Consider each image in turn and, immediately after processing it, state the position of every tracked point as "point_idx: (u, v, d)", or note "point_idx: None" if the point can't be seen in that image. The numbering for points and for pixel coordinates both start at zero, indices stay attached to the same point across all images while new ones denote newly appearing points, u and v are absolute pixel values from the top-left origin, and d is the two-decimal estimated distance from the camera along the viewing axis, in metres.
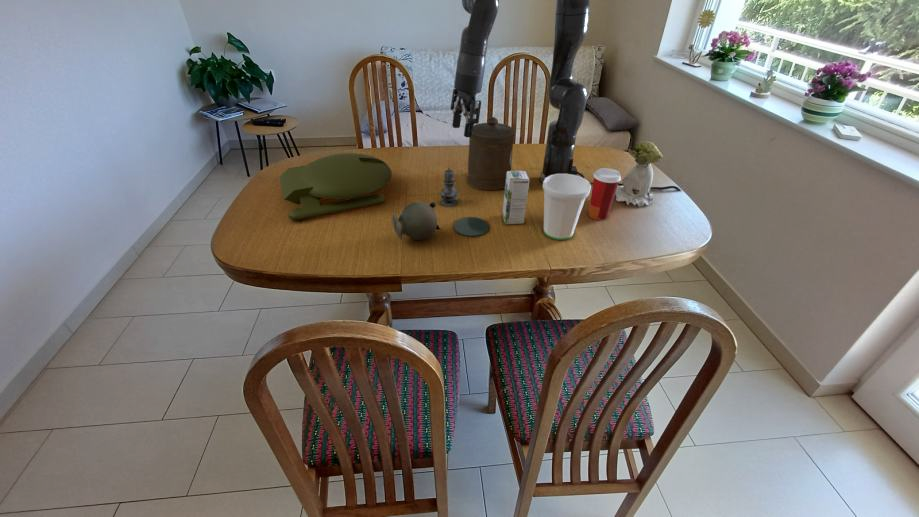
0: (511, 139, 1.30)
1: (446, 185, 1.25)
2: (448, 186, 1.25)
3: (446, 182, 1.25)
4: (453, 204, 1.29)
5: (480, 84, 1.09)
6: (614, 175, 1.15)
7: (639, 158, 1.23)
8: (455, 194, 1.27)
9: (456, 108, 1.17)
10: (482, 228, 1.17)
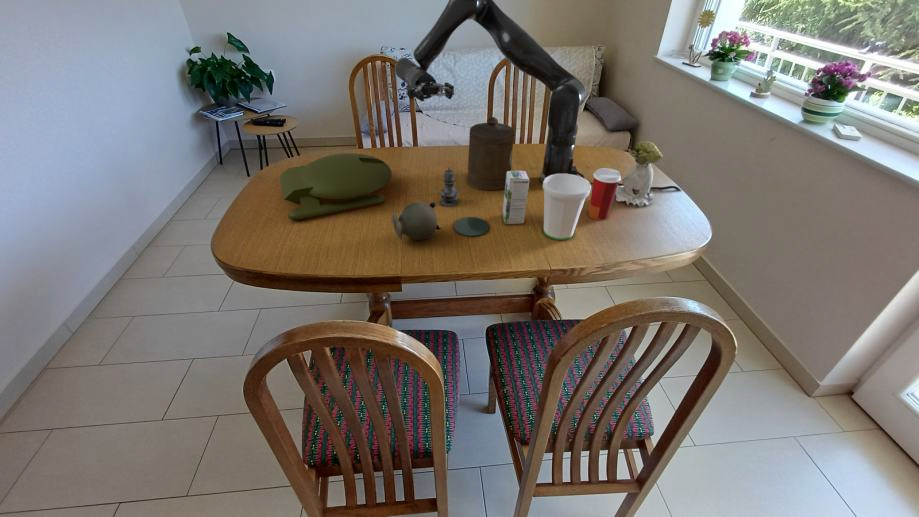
0: (511, 139, 1.30)
1: (446, 185, 1.25)
2: (448, 186, 1.25)
3: (446, 182, 1.25)
4: (453, 204, 1.29)
5: (414, 78, 1.29)
6: (614, 175, 1.15)
7: (639, 158, 1.23)
8: (455, 194, 1.27)
9: (440, 95, 1.27)
10: (482, 228, 1.17)
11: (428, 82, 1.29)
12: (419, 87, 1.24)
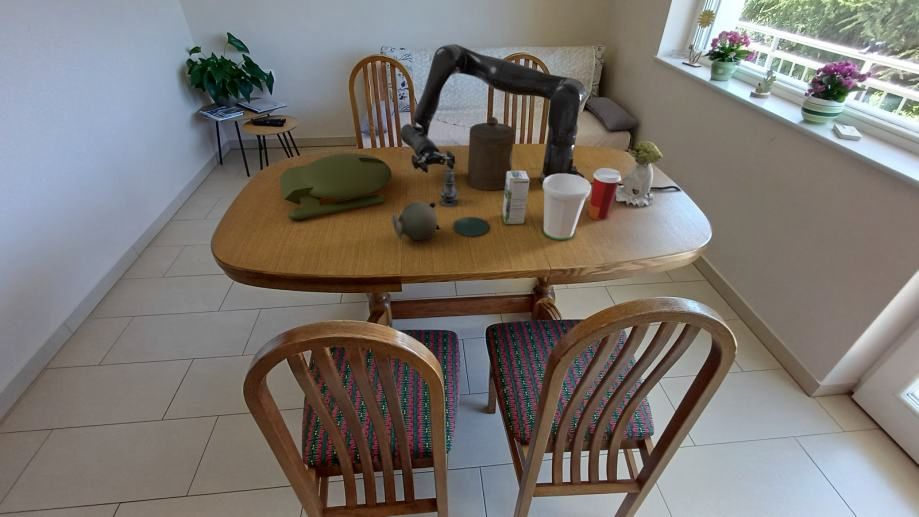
0: (511, 139, 1.30)
1: (446, 185, 1.25)
2: (448, 186, 1.25)
3: (446, 182, 1.25)
4: (453, 204, 1.29)
5: (419, 147, 1.42)
6: (614, 175, 1.15)
7: (639, 158, 1.23)
8: (455, 194, 1.27)
9: (442, 163, 1.39)
10: (482, 228, 1.17)
11: (431, 151, 1.41)
12: (423, 158, 1.36)
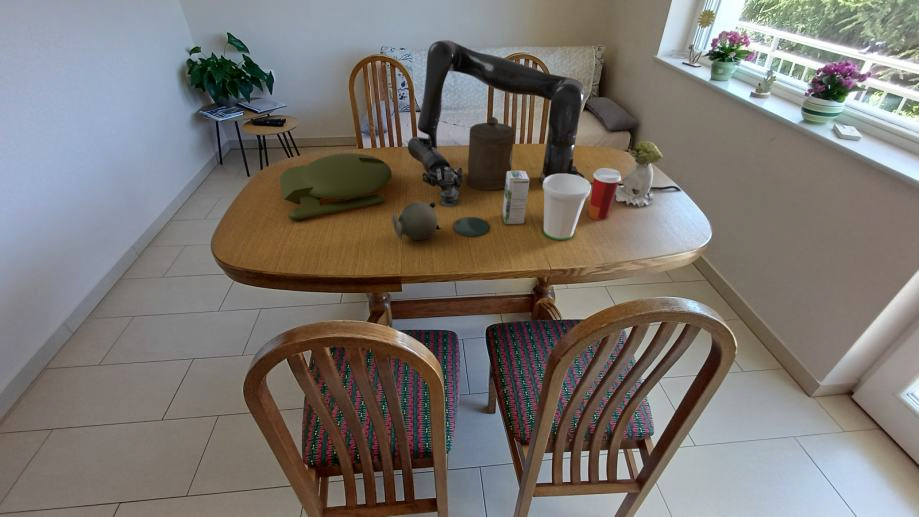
0: (511, 139, 1.30)
1: None
2: (448, 186, 1.25)
3: (446, 182, 1.25)
4: (453, 204, 1.29)
5: (428, 162, 1.33)
6: (614, 175, 1.15)
7: (639, 158, 1.23)
8: (455, 194, 1.27)
9: None
10: (482, 228, 1.17)
11: (442, 166, 1.33)
12: (439, 175, 1.27)
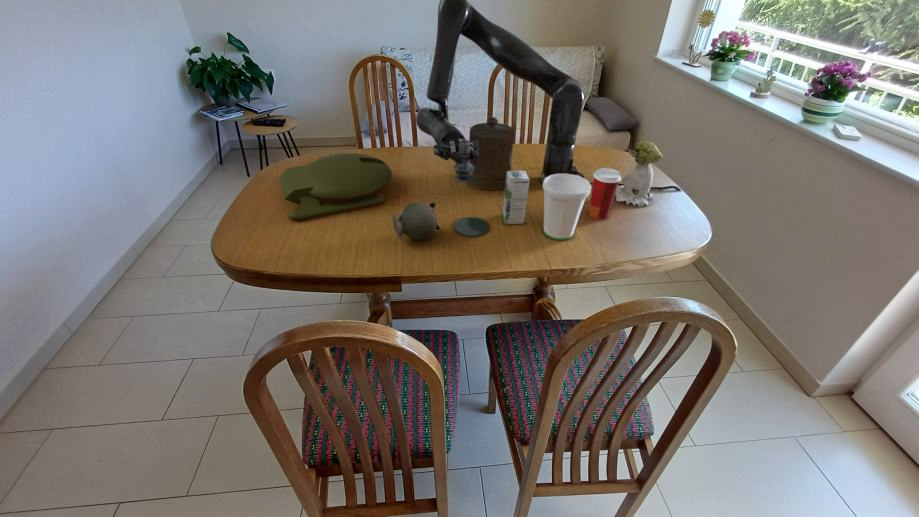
0: (511, 139, 1.30)
1: None
2: (463, 159, 1.10)
3: (461, 155, 1.09)
4: (468, 180, 1.13)
5: (440, 134, 1.18)
6: (614, 175, 1.15)
7: (639, 158, 1.23)
8: (471, 169, 1.11)
9: None
10: (482, 228, 1.17)
11: (455, 138, 1.17)
12: (452, 147, 1.12)
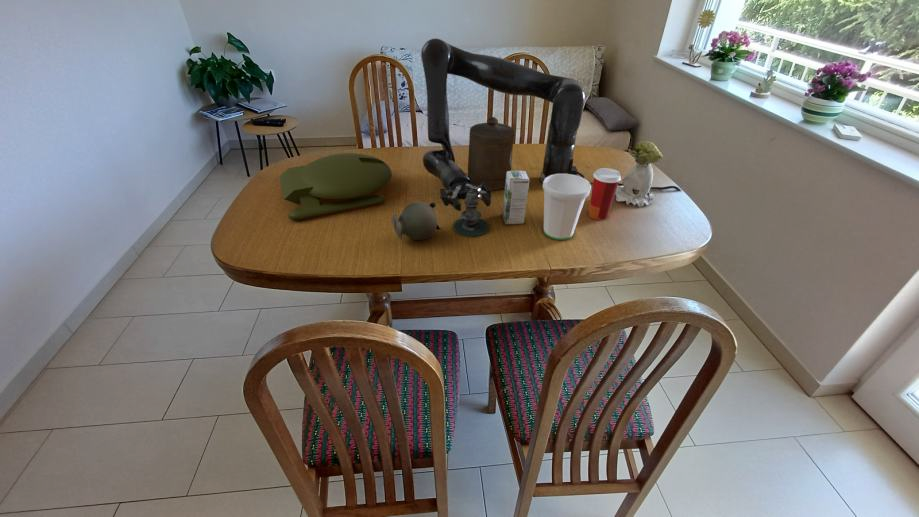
0: (511, 139, 1.30)
1: (468, 207, 1.14)
2: (470, 209, 1.14)
3: (469, 204, 1.13)
4: (475, 228, 1.17)
5: (448, 178, 1.21)
6: (614, 175, 1.15)
7: (639, 158, 1.23)
8: (478, 217, 1.15)
9: None
10: (482, 228, 1.17)
11: (463, 183, 1.20)
12: (455, 193, 1.15)
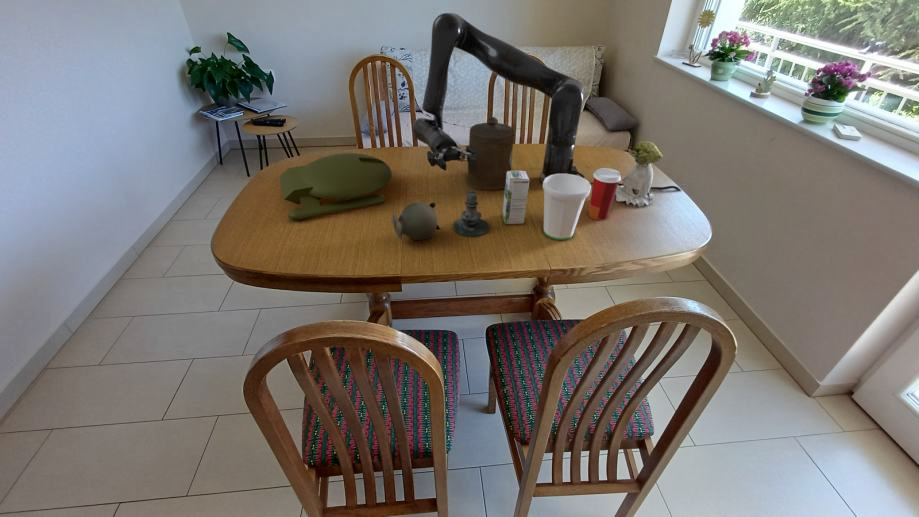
0: (511, 139, 1.30)
1: (468, 207, 1.14)
2: (470, 209, 1.14)
3: (469, 204, 1.13)
4: (475, 228, 1.17)
5: (435, 142, 1.27)
6: (614, 175, 1.15)
7: (639, 158, 1.23)
8: (478, 217, 1.15)
9: (461, 160, 1.24)
10: (482, 228, 1.17)
11: (449, 146, 1.26)
12: (441, 154, 1.21)
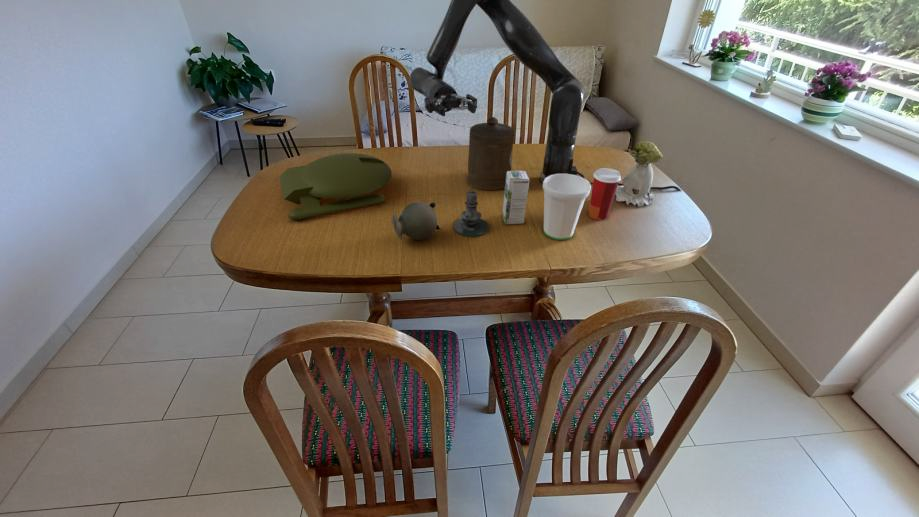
0: (511, 139, 1.30)
1: (468, 207, 1.14)
2: (470, 209, 1.14)
3: (469, 204, 1.13)
4: (475, 228, 1.17)
5: (433, 89, 1.17)
6: (614, 175, 1.15)
7: (639, 158, 1.23)
8: (478, 217, 1.15)
9: (461, 108, 1.15)
10: (482, 228, 1.17)
11: (448, 94, 1.17)
12: (439, 100, 1.12)
